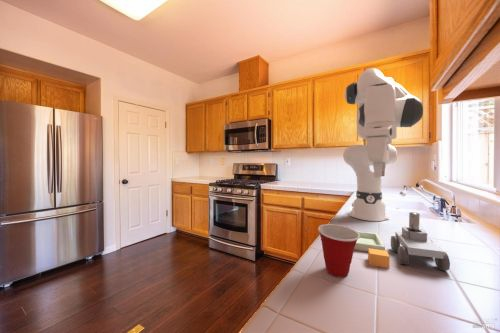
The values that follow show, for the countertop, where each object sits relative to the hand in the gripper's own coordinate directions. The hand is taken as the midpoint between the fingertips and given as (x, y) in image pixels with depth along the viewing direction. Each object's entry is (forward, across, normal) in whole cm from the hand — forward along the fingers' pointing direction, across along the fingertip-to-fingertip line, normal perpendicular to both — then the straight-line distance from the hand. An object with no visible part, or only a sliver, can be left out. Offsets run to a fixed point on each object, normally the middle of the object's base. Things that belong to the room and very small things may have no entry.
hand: (379, 176), depth 67 cm
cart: (+26, -6, +9) cm, 28 cm away
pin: (+20, -8, +9) cm, 23 cm away
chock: (+26, +4, 0) cm, 27 cm away
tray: (+26, -9, -6) cm, 28 cm away
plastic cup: (+27, +17, -8) cm, 33 cm away
